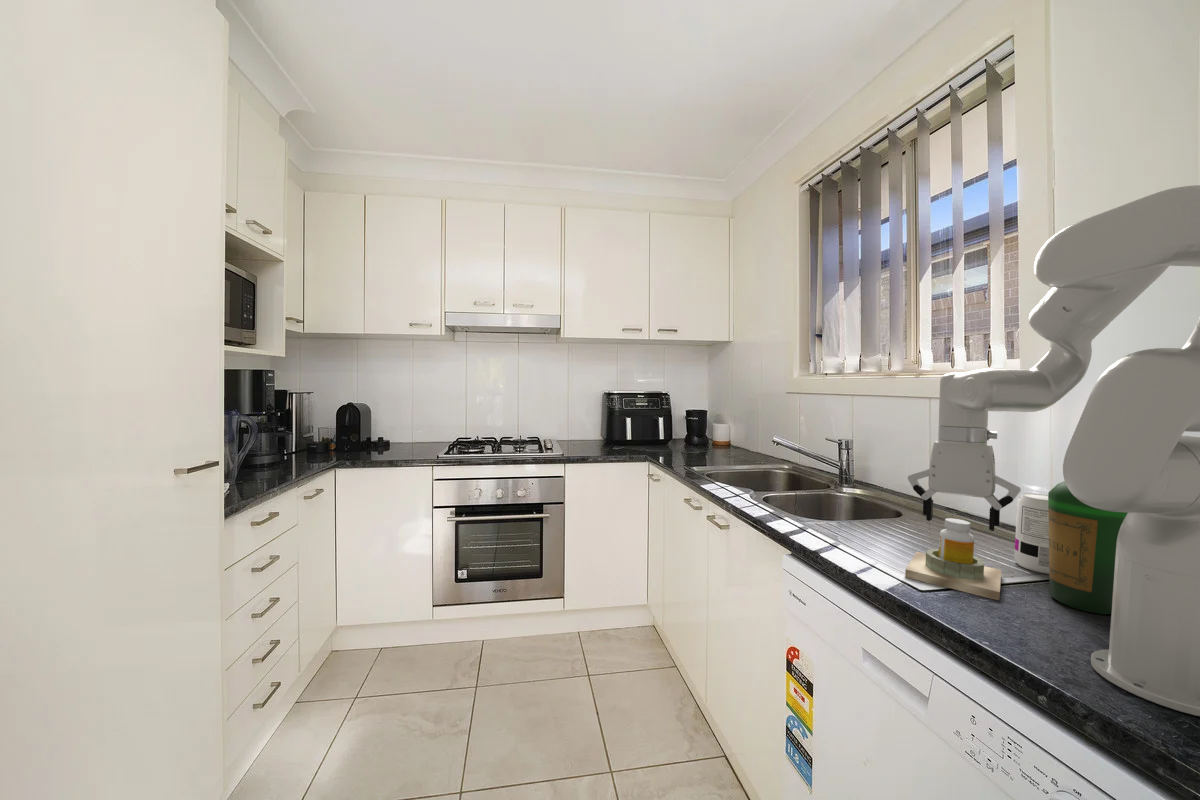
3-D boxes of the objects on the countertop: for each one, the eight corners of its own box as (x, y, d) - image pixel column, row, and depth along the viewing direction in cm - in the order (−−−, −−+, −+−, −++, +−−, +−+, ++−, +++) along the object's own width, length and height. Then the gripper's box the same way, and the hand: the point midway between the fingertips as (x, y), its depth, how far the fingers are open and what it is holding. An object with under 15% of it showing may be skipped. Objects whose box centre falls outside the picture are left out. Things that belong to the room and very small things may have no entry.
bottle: (1036, 585, 89) (1045, 439, 88) (1117, 602, 83) (1128, 444, 82) (1047, 606, 80) (1058, 444, 79) (1139, 626, 74) (1152, 451, 73)
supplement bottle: (979, 576, 89) (982, 525, 89) (950, 575, 89) (953, 524, 89) (958, 565, 94) (961, 517, 94) (931, 564, 95) (934, 516, 94)
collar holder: (1000, 577, 93) (1002, 557, 93) (999, 600, 82) (1000, 578, 82) (916, 558, 102) (917, 540, 102) (905, 577, 91) (906, 556, 91)
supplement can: (1004, 559, 103) (1008, 491, 103) (1046, 562, 102) (1050, 493, 101) (1032, 574, 95) (1037, 500, 94) (1078, 577, 94) (1083, 503, 93)
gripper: (1021, 438, 88) (1019, 529, 88) (912, 432, 99) (909, 513, 99) (1022, 440, 82) (1019, 538, 82) (906, 433, 94) (903, 519, 94)
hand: (959, 524), depth 91 cm, fingers open, 9 cm apart
